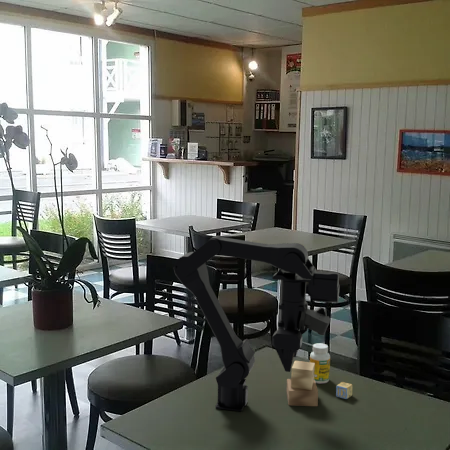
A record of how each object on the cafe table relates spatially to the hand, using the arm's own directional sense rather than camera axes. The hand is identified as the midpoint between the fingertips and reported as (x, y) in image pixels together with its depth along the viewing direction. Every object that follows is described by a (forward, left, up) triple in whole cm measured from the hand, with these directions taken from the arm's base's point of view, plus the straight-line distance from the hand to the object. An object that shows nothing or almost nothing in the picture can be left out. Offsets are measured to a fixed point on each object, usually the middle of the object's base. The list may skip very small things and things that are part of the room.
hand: (290, 363), depth 134 cm
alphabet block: (+12, +13, -12) cm, 22 cm away
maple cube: (+2, +8, -8) cm, 12 cm away
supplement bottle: (+5, +21, -12) cm, 25 cm away
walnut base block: (+2, +8, -12) cm, 15 cm away
